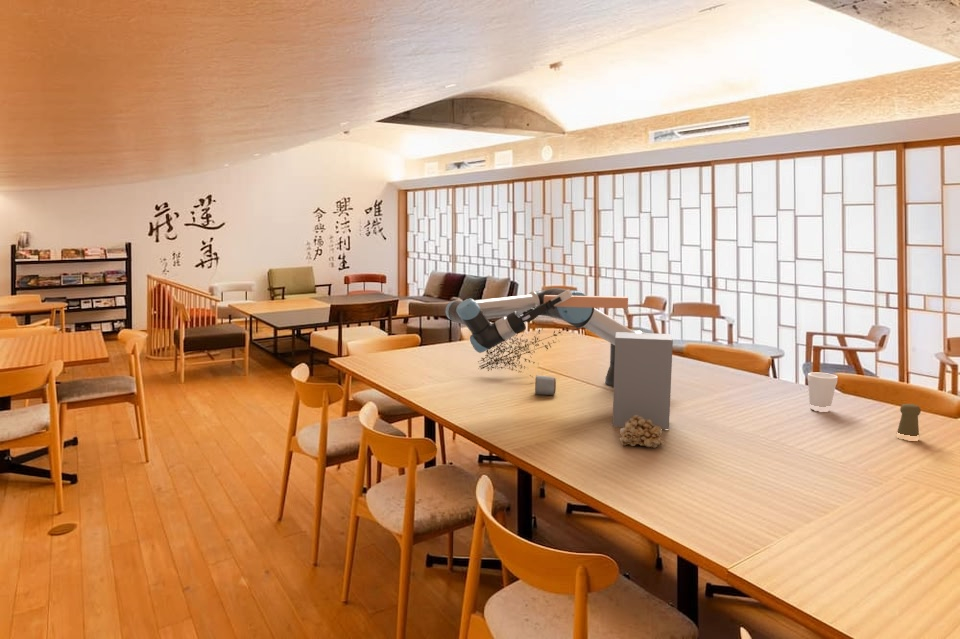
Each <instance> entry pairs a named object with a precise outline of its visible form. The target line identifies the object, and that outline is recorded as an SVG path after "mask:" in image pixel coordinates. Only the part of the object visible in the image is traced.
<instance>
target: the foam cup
mask: <svg viewBox="0 0 960 639" xmlns="http://www.w3.org/2000/svg"><path fill="white" fill-rule="evenodd" d="M807 384H808V385H807V386H808V396H809V398H808V399H809V405H810V404H811V405H814V406H819V407H826V406H831V407H832V403H833V399H834V395H835V389H836V386H837V384H838V375H836V374H833V373H832V374H831V373H827V372H818V371H817V372H815V371H813V372H808V373H807Z"/></svg>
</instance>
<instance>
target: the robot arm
mask: <svg viewBox="0 0 960 639" xmlns="http://www.w3.org/2000/svg"><path fill="white" fill-rule="evenodd" d="M545 295H558V296H556V297H554V298H552V299H551V300H549V301H548V302H546V303H544V296H545ZM571 296H588V295H587V294H586V293H584V292H582V291H579V290H576V289H575V290H574V289H573V290H572V289H570V288H568V289H566V288H560V287H554V288H548V289H542V290H535V291H530V292H529V293H528V294H522V295H521V294H520V295H513V296H504V297H492V298H485V299H473V298H471V297H470V298H466V299H465V300H462V301H460V300H452V301H450V302H449V303H448V304H447V305H446V307H445V315H446V317H447V319H449V320H451V321H452V322H454V323H459V324H461V325H464V326H466V328H467V329H468V330H469V331H470V333H471V335H470V336H469V342H470V344H471V345H472V348H473V349H474V350H475V352H477V353H479V354H481V353H485V352H486V351H487V350H489V351H490V350H491V349H492V348H493V347H494V346H495V347H496V345H498V346H499V345H501V342H503V341H504V342H505V341H506V340H507V339H508V340H509V341H512V340H511V339H512V338H514V337H515V336H516V335H515V334H521V333H522V332H524V331H526V330H527V328H526V323H530V322H531V321H532V322H533V319H534V320H535V319H537V318H538V317H539V316H541V317H547V318H553V319H556V320H557V319H558V320H561V321H564V322H566V323H568V324H569V325H571V326H572V327H574V328H576V329H582V328H583V329H586V330H587V331H589V332H591V333H593V335H596V336H597V337H599V338H601V339H604V340H605V341H606V342H608V343H610V350H609V351H610V352H609V353H610V354H609V355H610V357H609V367H608V370H607V373H606V376H605V379H604V380H605V381H604V382H605V384H606V385H608V386H611V387H614V363H615V336H616V332H629V333H644V332H642V331H641V330H638V329H630V328H629V327H627V326H626V325H624V324H622V323H620V322H619V321H617V320H616V319H614V318H612V317H611V316H609V315H607V314H606V313H604V312H602V311H601V310H599V308H598V309H597V308H592V307H554V306H556V305H558V304H560V303H562V302H564V301H566V300H567V299H569V298H571ZM489 319H497V320H496V321H494V322H493V323H491V322H490V321H489ZM513 336H514V337H513ZM508 340H507V341H508ZM504 342H503V343H504ZM495 347H494V348H495Z"/></svg>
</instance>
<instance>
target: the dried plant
mask: <svg viewBox="0 0 960 639" xmlns="http://www.w3.org/2000/svg"><path fill="white" fill-rule="evenodd" d="M534 321H535V319H533V320H532V322H531V323H530V324H529V328H531V327H532V325H533V323H534ZM536 329H537V330H538V332H537V334H538V335H539V334H541V331H544V326H543V327H542V326H541V328H539V329H538V327H536ZM569 330H570V328H569V329H568V328H564V329H563V330H562V331H561V328H559V330H558V331H557V332H558V333H556V331H555V330H554V331H553V335H552V336H548V337H546V338H542V339H540V337H537V336H536V335H534V336H533V338H531V341H530V342H529V341H528V338H527V339H522V337H523V335H525V334H526V332H523V334H521V336H520V337H519V338H518V334H519V333H518V334H515V335H514V336H513V337H512V338H511V340H510V341H509V343H508V342H507V341H508V340H509V339H507V340H505V341H503V342H501V343H500V344H498V345H496V346H494V347H492V348H491V349H489V350H487V351H485V357H481V360H478V361H477V363H480V362H481V361H482V362H481V364H482V365H481V364H480V365H479V366H478V369H479V370H483V369H485V368H486V370H487V372H489V371H490V372H492V370H493V369H494V370H499V369H500V370H503V369H504V370H506V369H508V370H511V371H514V370H515V372H517V371H518V373H523V371H522V370H521V369H524V370H526V366H525V365H524V366H523V365H522V364H520V363H521V361H520V358H522V359H523V360H524V362H526V363H531V360H530V359H528V358H525V357H523V356H522V355H525V354H533V353H534V354H535V350H539V349H540V348H541V349H542V348H545V350H546V351H548V350H549V348H548V346H549V347H550V348H552V346H551V344H557V342H558V343H559V340H558V341H554V340H553V339H552V340H551V341H552V342H551V343H550V342H549V341H547V344H545V345H544V342H542V341H545V340H546V339H549V338H552V337H554V338H555V339H557V336H558V334H560V335H561V336H562V335H563V334H562V332H563V331H569ZM511 341H512V342H511ZM539 342H542V346H541V347H539V346H540V344H539ZM523 343H524V345H523ZM507 345H508V347H507ZM512 345H513V346H514V348H513V346H512ZM531 345H533V347H534V349H532V350H531V349H530V346H531ZM535 347H538V348H535ZM493 349H494V350H493ZM505 352H506V353H507V354H505ZM522 352H523V353H522ZM504 354H505V355H504ZM521 356H522V357H521ZM529 356H530V358H532V357H531V355H529ZM516 358H517V359H516ZM527 361H528V362H527ZM517 362H518V363H517ZM483 363H484V364H483ZM499 364H500V365H499ZM502 364H503V365H504V366H502ZM532 364H536V362H535V361H532ZM498 365H499V366H498ZM537 365H539V363H537ZM517 366H518V367H519V369H520V370H517V368H518V367H517ZM514 367H515V368H516V369H514ZM478 369H477V370H478ZM527 370H529V368H527ZM527 375H529V376H530V377H531V378H533V375H531V374H528V373H527Z"/></svg>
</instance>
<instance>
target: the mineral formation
mask: <svg viewBox="0 0 960 639" xmlns="http://www.w3.org/2000/svg"><path fill="white" fill-rule="evenodd" d="M619 432H620V433H619V434H620V435H621V437H619V441H620V442H621V445H622V446H628V445H629V446H632V447H635V446H636V445H640V446H645V447H646V448H652V447H653V449H656V448H657V447H658V446H659V445H660V446H664V445H665V441H664V440H663V439H662V437H661V435H662V434H663V430H661V428H660V427H659V426H655V425H653V424H652V422H651V421H650V420H649V419H648V420H646V419H645V420H644V419H643V418H642V417H639V416H638V415H634V416H633V417H632V418H630V421H627V422H626V423H625V426H624V427H621V428H620V431H619Z"/></svg>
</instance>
